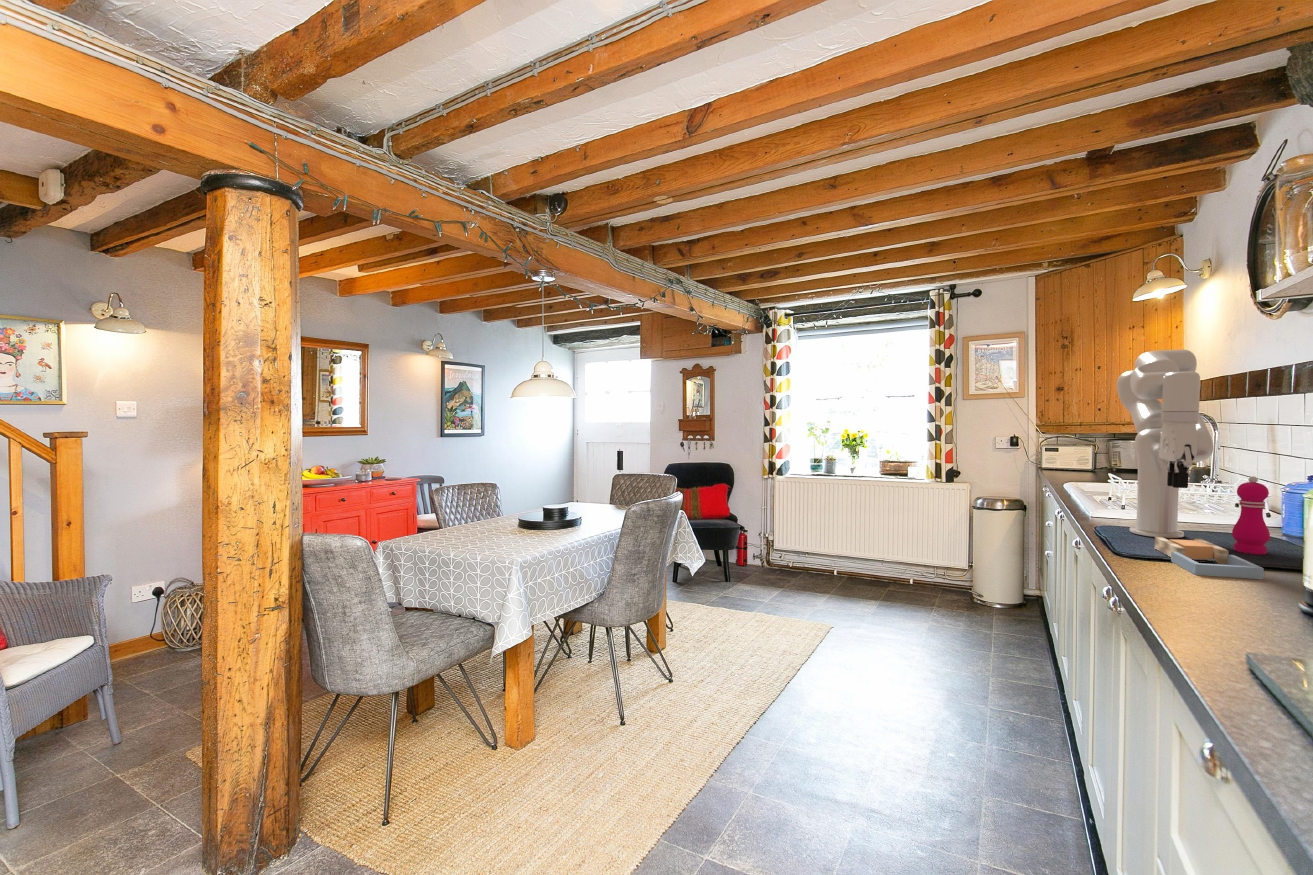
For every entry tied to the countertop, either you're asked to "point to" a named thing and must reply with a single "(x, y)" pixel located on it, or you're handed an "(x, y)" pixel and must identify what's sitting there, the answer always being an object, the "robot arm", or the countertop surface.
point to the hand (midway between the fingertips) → (1177, 486)
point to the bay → (1220, 567)
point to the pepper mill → (1251, 519)
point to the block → (1195, 549)
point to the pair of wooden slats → (1170, 547)
